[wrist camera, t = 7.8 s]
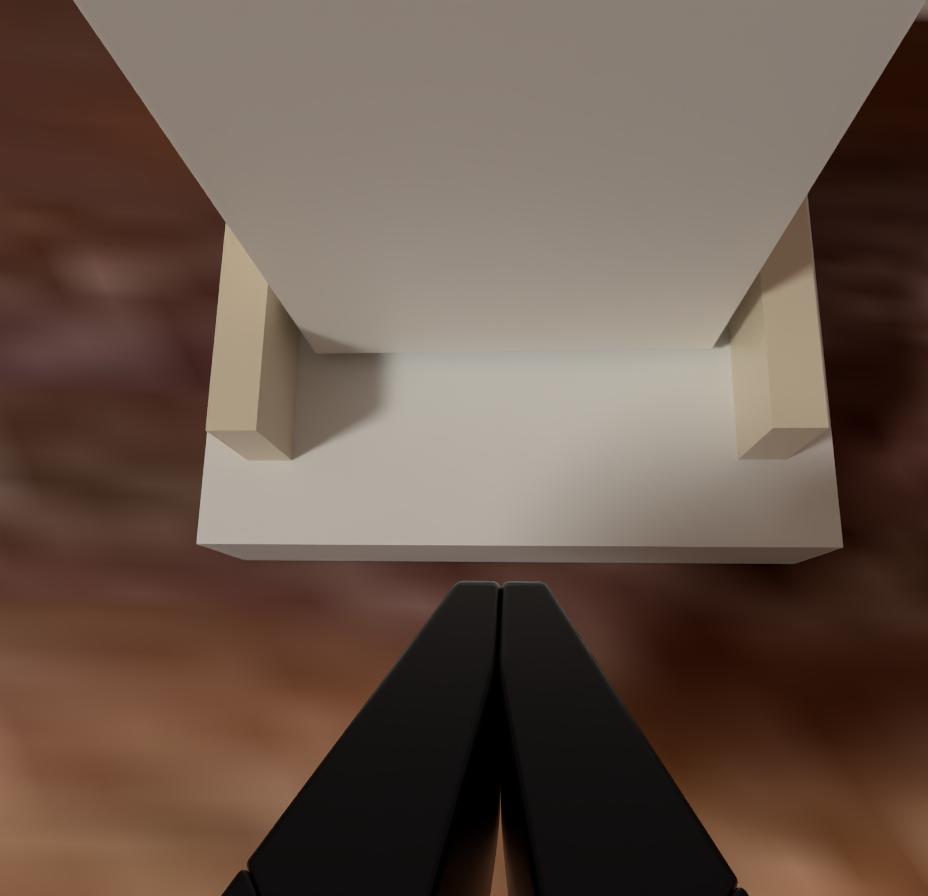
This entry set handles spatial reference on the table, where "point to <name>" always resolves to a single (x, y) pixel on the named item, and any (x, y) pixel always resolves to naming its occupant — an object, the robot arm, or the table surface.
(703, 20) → the off-white rectangular block
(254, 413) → the cream l-shaped bracket
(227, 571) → the table surface
